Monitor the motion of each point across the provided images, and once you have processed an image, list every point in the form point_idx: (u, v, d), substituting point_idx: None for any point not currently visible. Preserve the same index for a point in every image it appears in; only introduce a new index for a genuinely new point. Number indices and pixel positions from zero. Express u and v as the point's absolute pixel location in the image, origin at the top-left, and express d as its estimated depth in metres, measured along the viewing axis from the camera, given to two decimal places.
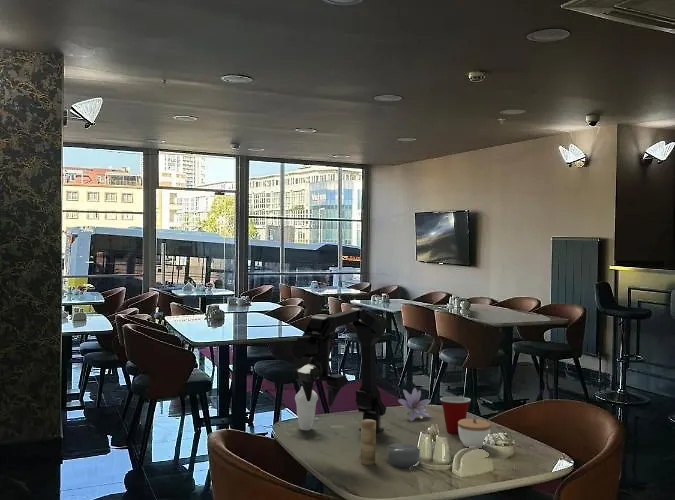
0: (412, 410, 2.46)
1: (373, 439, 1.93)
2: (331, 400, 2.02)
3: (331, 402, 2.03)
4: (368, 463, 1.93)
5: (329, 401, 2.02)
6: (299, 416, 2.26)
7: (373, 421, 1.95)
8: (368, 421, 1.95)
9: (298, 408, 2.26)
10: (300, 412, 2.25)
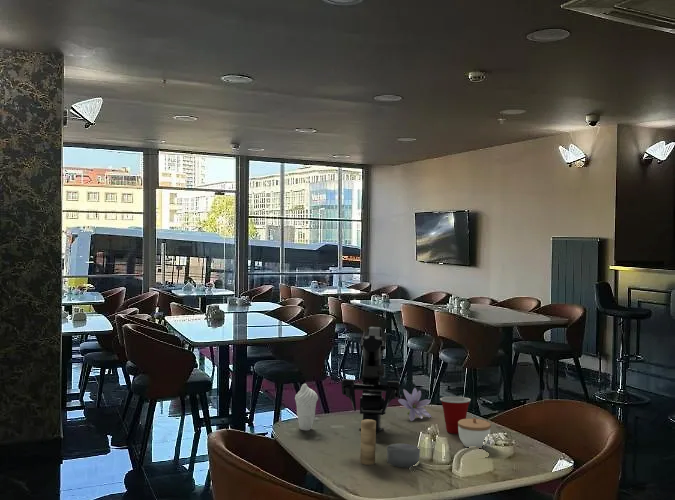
0: (412, 410, 2.46)
1: (373, 439, 1.93)
2: (386, 406, 2.03)
3: (385, 408, 2.03)
4: (368, 463, 1.93)
5: (385, 405, 2.03)
6: (299, 416, 2.26)
7: (373, 421, 1.95)
8: (368, 421, 1.95)
9: (298, 408, 2.26)
10: (300, 412, 2.25)
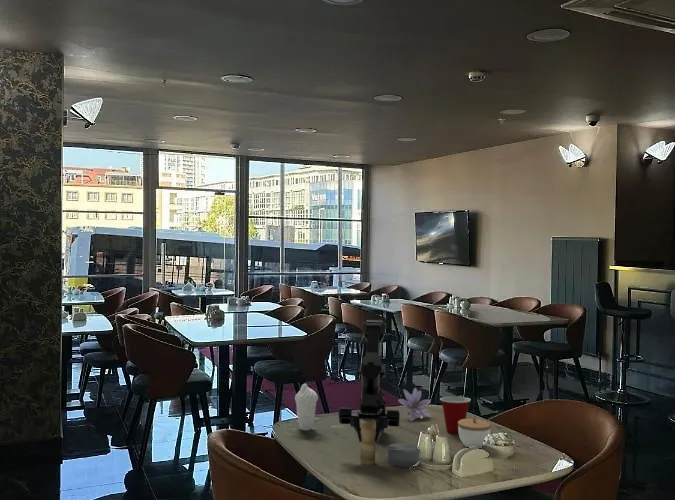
0: (412, 410, 2.46)
1: (373, 439, 1.93)
2: (378, 436, 1.94)
3: (378, 438, 1.94)
4: (368, 463, 1.93)
5: (377, 436, 1.94)
6: (299, 416, 2.26)
7: (373, 421, 1.95)
8: (368, 421, 1.95)
9: (298, 408, 2.26)
10: (300, 412, 2.25)
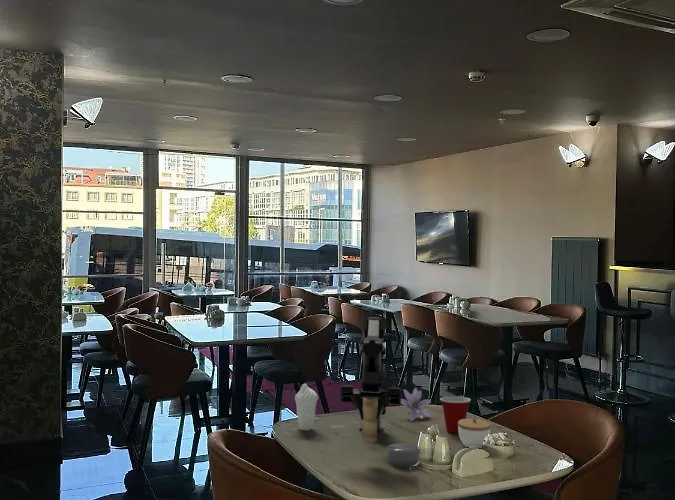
0: (412, 410, 2.47)
1: (375, 416, 1.93)
2: (380, 413, 1.94)
3: (379, 416, 1.94)
4: (370, 440, 1.93)
5: (379, 413, 1.94)
6: (299, 416, 2.26)
7: (375, 399, 1.95)
8: (370, 398, 1.95)
9: (298, 408, 2.26)
10: (300, 412, 2.25)
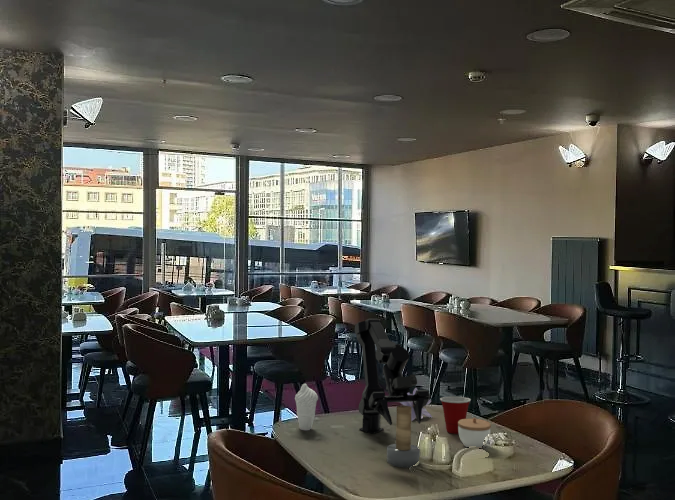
0: (413, 410, 2.47)
1: (410, 424, 1.95)
2: None
3: None
4: (406, 448, 1.94)
5: (420, 416, 1.97)
6: (299, 416, 2.26)
7: (408, 406, 1.97)
8: (403, 406, 1.97)
9: (298, 408, 2.26)
10: (300, 412, 2.25)
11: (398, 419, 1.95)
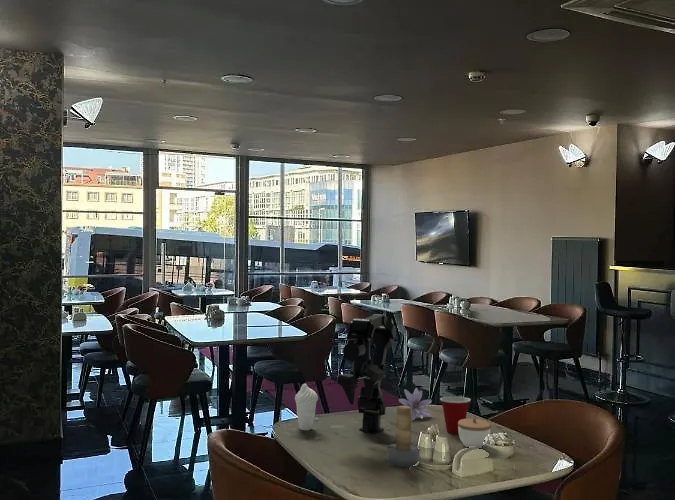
0: (413, 410, 2.47)
1: (410, 425, 1.95)
2: None
3: None
4: (406, 449, 1.94)
5: (371, 394, 2.19)
6: (299, 416, 2.26)
7: (408, 407, 1.97)
8: (403, 407, 1.96)
9: (298, 408, 2.26)
10: (300, 412, 2.25)
11: (398, 420, 1.95)
